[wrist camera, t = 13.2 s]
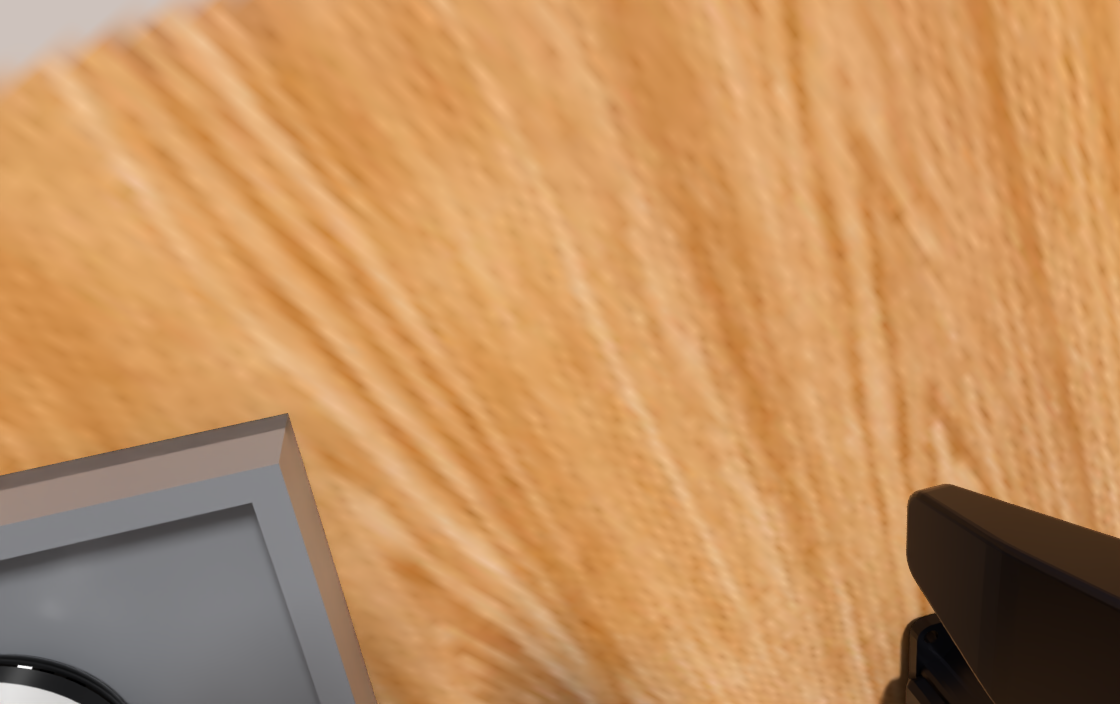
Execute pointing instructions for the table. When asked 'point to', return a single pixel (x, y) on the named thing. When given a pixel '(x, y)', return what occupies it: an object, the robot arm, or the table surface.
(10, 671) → the supplement container
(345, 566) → the table surface
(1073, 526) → the robot arm
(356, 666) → the tray
